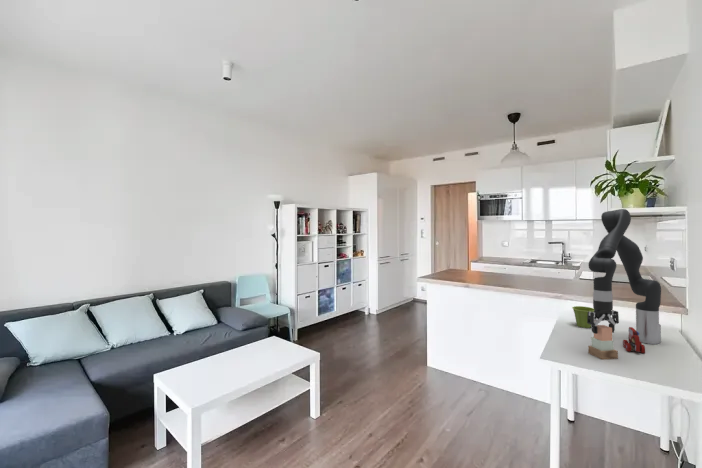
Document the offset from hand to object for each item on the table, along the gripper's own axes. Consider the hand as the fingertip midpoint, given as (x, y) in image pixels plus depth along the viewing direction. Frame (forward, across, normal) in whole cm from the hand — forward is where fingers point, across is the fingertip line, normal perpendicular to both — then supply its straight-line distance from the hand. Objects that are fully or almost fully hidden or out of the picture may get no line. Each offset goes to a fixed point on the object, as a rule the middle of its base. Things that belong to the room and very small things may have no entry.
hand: (603, 332), depth 159 cm
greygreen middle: (+7, 0, 0) cm, 8 cm away
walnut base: (+11, 0, 0) cm, 12 cm away
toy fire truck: (+11, -20, -4) cm, 23 cm away
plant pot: (+11, -26, -43) cm, 52 cm away
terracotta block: (+3, 0, 0) cm, 3 cm away
